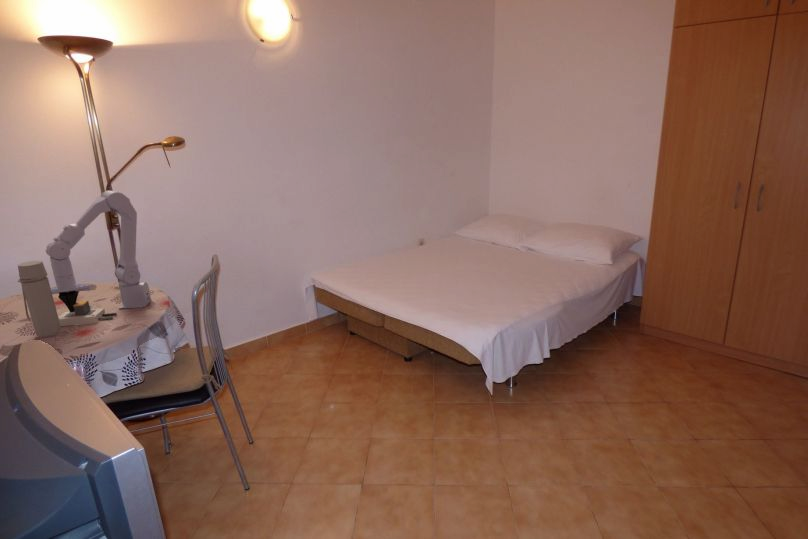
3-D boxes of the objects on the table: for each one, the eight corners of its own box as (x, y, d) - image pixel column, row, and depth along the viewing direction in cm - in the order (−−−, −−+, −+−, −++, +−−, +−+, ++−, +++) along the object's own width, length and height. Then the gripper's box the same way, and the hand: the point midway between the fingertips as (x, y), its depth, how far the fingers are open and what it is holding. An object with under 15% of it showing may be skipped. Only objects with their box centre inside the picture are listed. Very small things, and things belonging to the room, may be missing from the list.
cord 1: (113, 318, 176) (112, 315, 176) (112, 319, 175) (111, 316, 175) (98, 319, 175) (97, 317, 175) (97, 320, 174) (96, 318, 174)
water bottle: (67, 328, 168) (49, 259, 161) (52, 338, 161) (33, 266, 153) (40, 329, 168) (21, 260, 161) (24, 339, 161) (3, 267, 153)
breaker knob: (90, 310, 177) (88, 300, 176) (84, 314, 173) (82, 304, 172) (81, 310, 177) (79, 300, 176) (75, 315, 173) (73, 305, 172)
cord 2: (116, 315, 179) (116, 312, 179) (115, 316, 178) (115, 313, 178) (102, 316, 179) (101, 313, 178) (101, 317, 178) (100, 314, 177)
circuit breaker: (105, 314, 180) (104, 307, 179) (96, 323, 172) (94, 316, 172) (67, 317, 178) (65, 311, 177) (56, 326, 171) (54, 319, 170)
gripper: (90, 269, 176) (99, 304, 180) (44, 274, 172) (54, 310, 176) (84, 275, 169) (93, 311, 174) (36, 280, 166) (46, 317, 170)
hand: (73, 311), depth 174 cm, fingers closed
